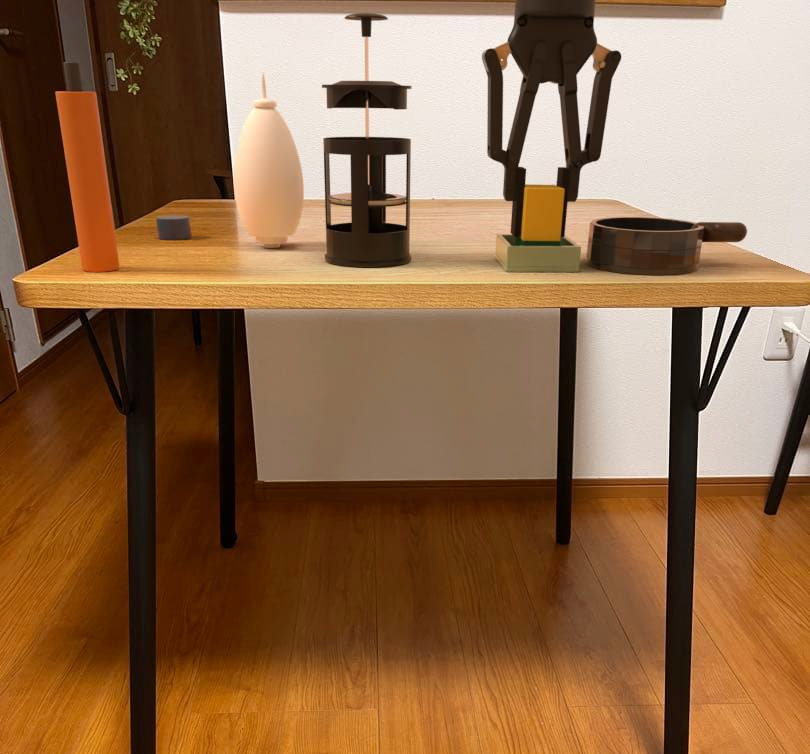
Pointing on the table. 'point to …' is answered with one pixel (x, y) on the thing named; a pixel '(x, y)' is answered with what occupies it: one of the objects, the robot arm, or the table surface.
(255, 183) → the air blower bulb
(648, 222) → the pan
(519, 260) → the sponge dish
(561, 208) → the sponge
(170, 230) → the steel-wool tin
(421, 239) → the table surface
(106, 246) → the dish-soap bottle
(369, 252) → the french press
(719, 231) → the pan handle
